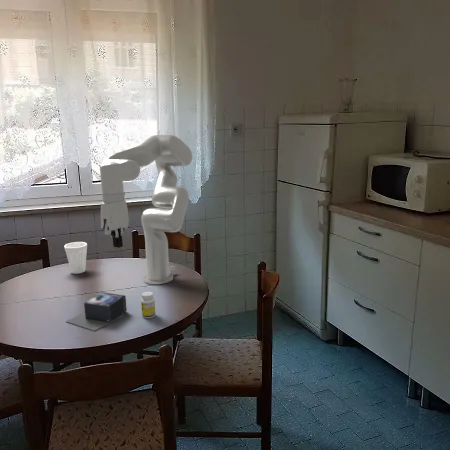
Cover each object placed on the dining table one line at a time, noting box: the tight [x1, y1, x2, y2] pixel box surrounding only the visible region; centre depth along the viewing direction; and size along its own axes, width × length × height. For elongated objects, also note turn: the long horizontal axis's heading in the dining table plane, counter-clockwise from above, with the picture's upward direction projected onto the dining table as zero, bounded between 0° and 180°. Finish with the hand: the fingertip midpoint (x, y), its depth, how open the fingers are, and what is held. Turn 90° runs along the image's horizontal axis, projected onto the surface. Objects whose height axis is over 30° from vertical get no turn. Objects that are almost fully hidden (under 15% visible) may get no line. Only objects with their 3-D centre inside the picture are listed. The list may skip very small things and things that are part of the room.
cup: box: [63, 241, 88, 274], centre depth 202 cm, size 10×10×13 cm
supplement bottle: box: [140, 291, 156, 319], centre depth 156 cm, size 5×5×8 cm
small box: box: [83, 291, 128, 324], centre depth 157 cm, size 11×6×10 cm
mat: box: [65, 311, 125, 332], centre depth 156 cm, size 14×14×1 cm
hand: (118, 246), depth 161 cm, fingers closed
